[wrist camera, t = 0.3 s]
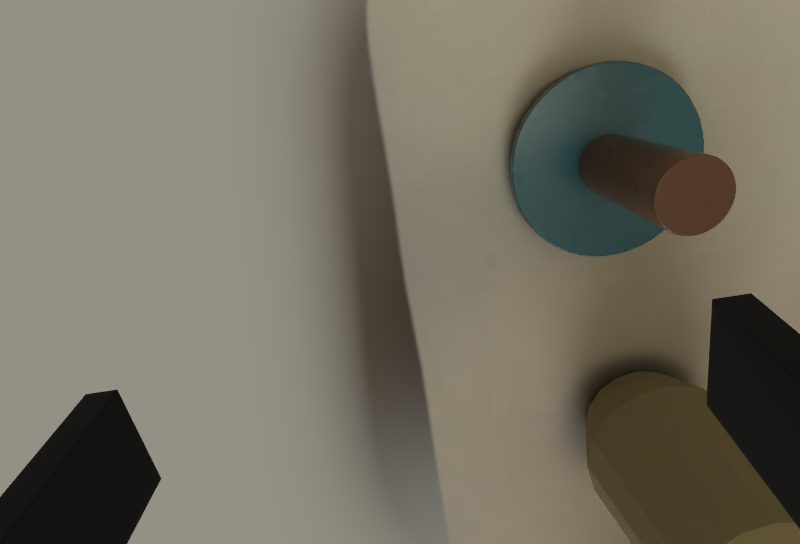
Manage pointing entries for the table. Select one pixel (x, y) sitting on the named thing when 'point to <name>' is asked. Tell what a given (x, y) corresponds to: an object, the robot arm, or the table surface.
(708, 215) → the lid
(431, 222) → the table surface
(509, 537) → the table surface
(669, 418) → the squeeze bottle
